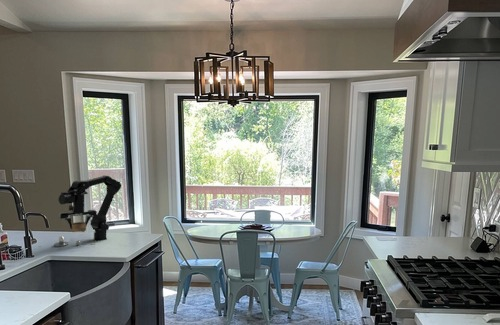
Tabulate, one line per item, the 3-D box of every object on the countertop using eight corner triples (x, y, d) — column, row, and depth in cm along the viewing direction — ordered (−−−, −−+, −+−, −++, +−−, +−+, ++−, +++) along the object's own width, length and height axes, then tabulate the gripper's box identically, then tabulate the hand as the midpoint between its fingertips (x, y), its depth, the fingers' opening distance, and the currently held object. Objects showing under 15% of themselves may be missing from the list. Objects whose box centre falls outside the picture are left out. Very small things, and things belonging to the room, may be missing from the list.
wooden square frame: (83, 228, 179) (83, 221, 179) (85, 230, 173) (86, 223, 173) (70, 229, 174) (70, 222, 174) (72, 232, 169) (72, 225, 169)
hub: (67, 242, 178) (67, 234, 178) (68, 245, 173) (68, 237, 173) (53, 244, 174) (53, 236, 174) (54, 247, 168) (54, 239, 168)
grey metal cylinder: (79, 244, 175) (79, 240, 175) (80, 245, 174) (80, 241, 174) (75, 245, 174) (75, 241, 174) (76, 246, 173) (76, 241, 173)
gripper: (93, 199, 186) (93, 223, 186) (58, 201, 174) (58, 227, 174) (97, 201, 177) (96, 227, 177) (60, 204, 165) (60, 231, 166)
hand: (78, 228), depth 174 cm, fingers closed on wooden square frame, 7 cm apart
